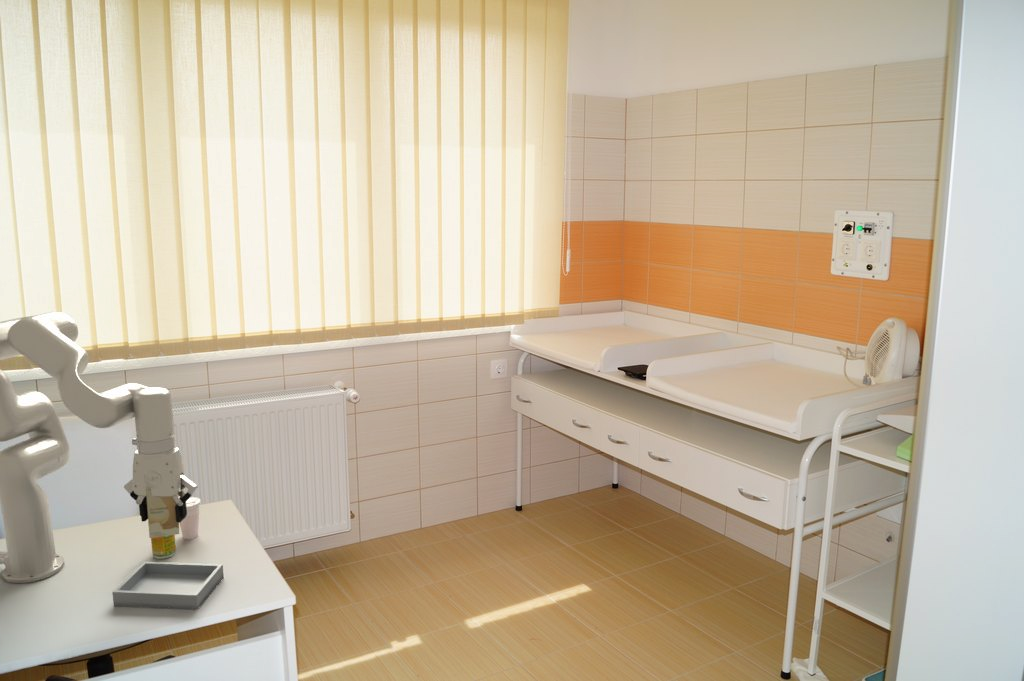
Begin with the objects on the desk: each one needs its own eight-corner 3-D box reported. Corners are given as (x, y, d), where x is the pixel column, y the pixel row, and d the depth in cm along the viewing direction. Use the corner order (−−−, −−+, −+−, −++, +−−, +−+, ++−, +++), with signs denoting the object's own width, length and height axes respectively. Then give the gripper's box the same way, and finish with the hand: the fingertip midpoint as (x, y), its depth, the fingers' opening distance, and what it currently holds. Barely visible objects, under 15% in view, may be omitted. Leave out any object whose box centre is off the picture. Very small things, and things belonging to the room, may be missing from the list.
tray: (113, 606, 172) (112, 592, 172) (145, 575, 186) (144, 561, 185) (198, 609, 171) (196, 595, 171) (223, 577, 185) (222, 564, 184)
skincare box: (149, 539, 172) (143, 487, 169) (149, 531, 176) (144, 480, 173) (181, 534, 175) (176, 482, 172) (180, 526, 178) (175, 475, 176)
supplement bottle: (167, 560, 193) (163, 524, 190) (147, 558, 194) (144, 522, 191) (180, 550, 198) (177, 514, 196) (161, 548, 199) (158, 512, 197)
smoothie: (181, 531, 208) (177, 481, 205) (206, 530, 209) (202, 481, 206) (174, 542, 202) (169, 491, 199) (199, 541, 202) (195, 490, 199)
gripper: (108, 449, 168) (117, 525, 171) (187, 451, 167) (194, 528, 170) (127, 437, 175) (135, 511, 179) (203, 439, 174) (209, 513, 178)
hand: (164, 518), depth 175 cm, fingers closed on skincare box, 7 cm apart
